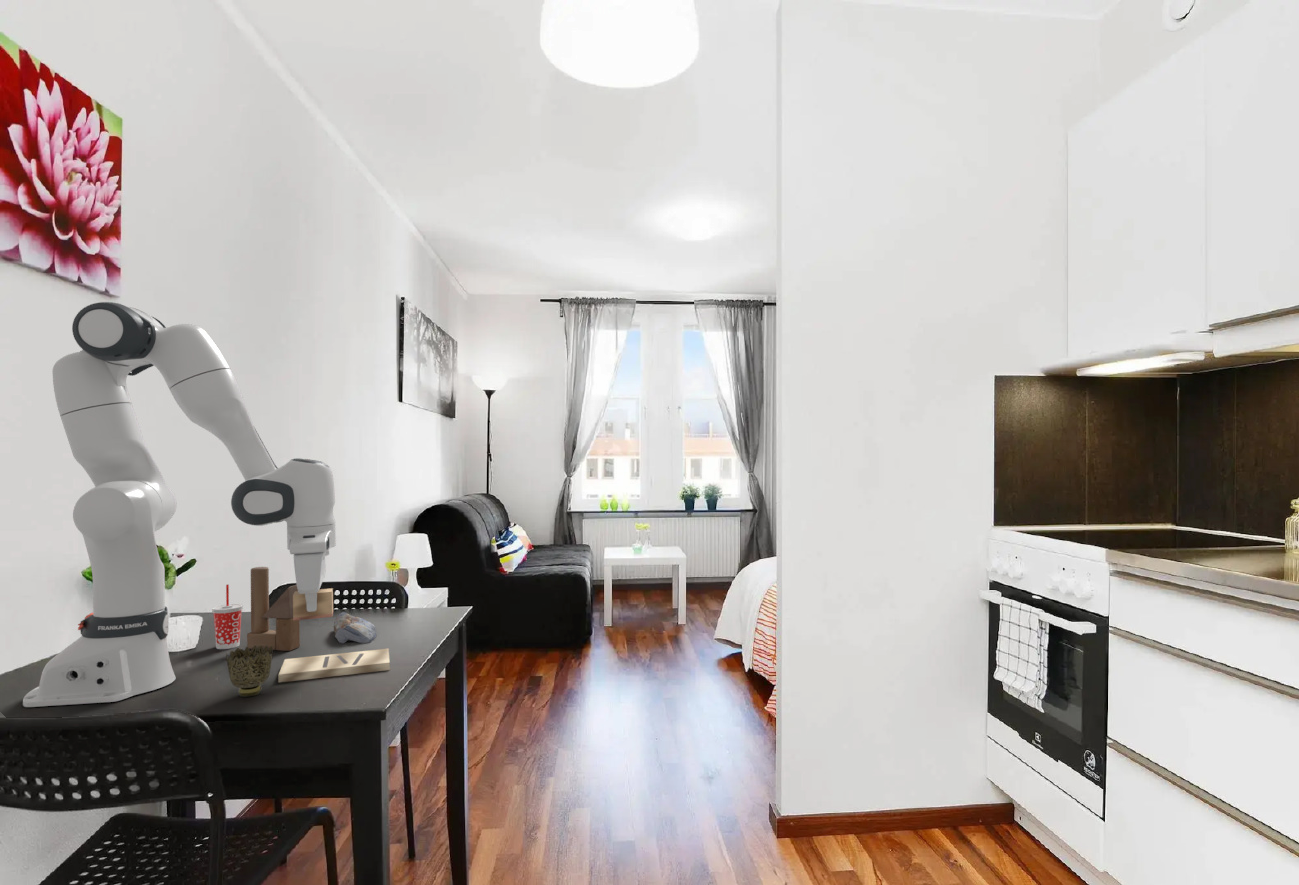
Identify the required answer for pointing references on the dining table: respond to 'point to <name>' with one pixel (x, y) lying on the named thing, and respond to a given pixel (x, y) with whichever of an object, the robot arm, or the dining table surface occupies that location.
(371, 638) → the stone
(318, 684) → the dining table surface
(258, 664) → the cup
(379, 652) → the board
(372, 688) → the dining table surface
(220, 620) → the beverage cup
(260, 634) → the stacked wooden blocks
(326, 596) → the block
